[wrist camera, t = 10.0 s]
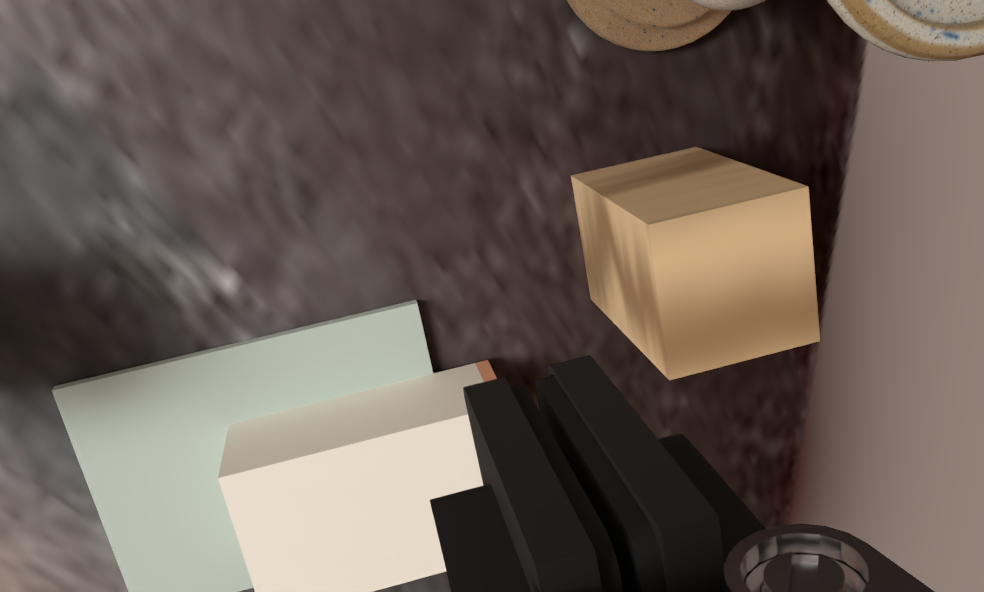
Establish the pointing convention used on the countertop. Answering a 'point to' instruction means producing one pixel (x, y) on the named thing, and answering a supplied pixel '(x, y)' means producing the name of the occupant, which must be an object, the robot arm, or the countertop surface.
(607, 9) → the candle holder
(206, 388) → the mat
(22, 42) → the countertop surface
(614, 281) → the oak block
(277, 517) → the cream block
